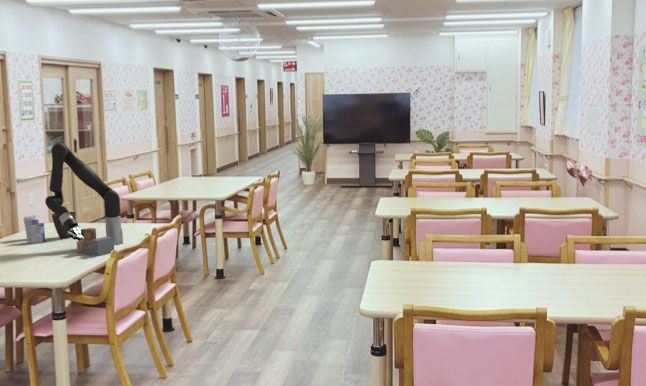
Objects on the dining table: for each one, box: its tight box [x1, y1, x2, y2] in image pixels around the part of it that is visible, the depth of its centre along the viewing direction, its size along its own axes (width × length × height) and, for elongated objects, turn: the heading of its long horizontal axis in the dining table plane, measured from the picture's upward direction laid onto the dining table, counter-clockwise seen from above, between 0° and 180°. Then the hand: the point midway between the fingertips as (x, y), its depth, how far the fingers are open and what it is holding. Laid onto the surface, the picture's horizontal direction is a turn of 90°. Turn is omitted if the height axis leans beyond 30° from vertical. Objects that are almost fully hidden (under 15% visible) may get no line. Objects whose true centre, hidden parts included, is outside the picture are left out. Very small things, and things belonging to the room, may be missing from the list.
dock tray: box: [76, 240, 84, 253], centre depth 431 cm, size 10×11×6 cm
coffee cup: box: [23, 214, 39, 236], centre depth 476 cm, size 10×10×15 cm
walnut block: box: [82, 227, 97, 247], centre depth 430 cm, size 5×5×12 cm
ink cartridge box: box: [25, 219, 46, 244], centre depth 464 cm, size 10×6×14 cm, turn 89°
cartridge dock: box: [80, 235, 115, 257], centre depth 428 cm, size 15×12×9 cm
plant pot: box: [51, 211, 77, 240], centre depth 478 cm, size 15×15×16 cm
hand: (83, 243), depth 434 cm, fingers closed
